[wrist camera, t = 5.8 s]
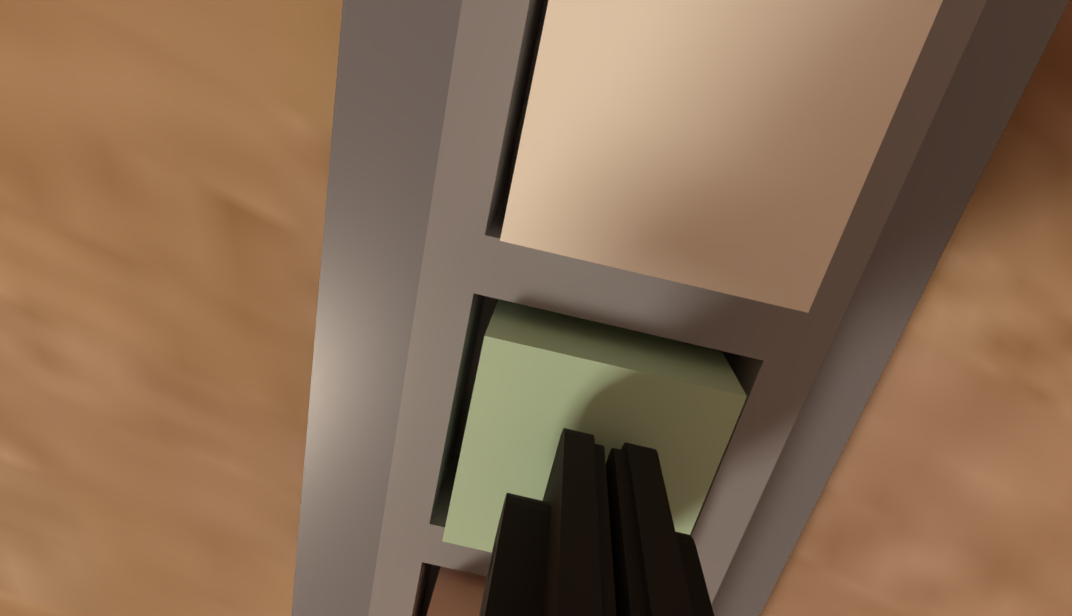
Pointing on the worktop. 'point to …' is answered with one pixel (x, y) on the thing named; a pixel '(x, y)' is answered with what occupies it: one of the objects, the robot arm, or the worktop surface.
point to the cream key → (709, 135)
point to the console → (591, 292)
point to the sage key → (586, 412)
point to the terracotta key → (457, 593)
